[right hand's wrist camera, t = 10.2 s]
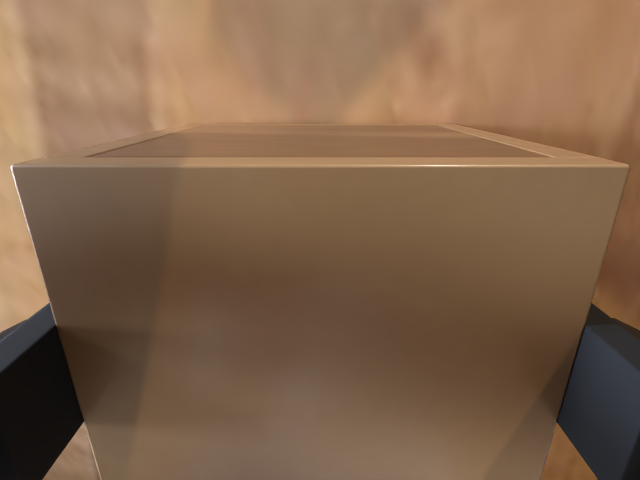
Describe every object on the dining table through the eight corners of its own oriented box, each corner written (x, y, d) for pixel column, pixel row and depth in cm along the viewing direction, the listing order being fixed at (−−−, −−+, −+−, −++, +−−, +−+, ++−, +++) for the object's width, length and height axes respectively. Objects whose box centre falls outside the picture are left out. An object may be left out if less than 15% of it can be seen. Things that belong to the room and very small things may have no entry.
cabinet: (411, 476, 24) (469, 724, 14) (229, 476, 24) (170, 724, 14) (453, 123, 16) (633, 164, 7) (187, 123, 16) (7, 164, 7)
